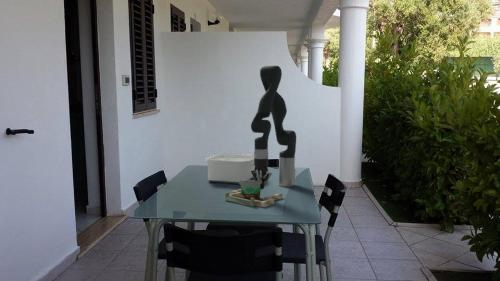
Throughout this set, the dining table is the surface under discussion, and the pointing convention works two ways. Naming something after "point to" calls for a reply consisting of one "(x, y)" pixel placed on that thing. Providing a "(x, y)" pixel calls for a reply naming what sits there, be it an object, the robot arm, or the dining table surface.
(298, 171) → the dining table surface
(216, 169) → the pot
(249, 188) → the food container
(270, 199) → the trap lane
